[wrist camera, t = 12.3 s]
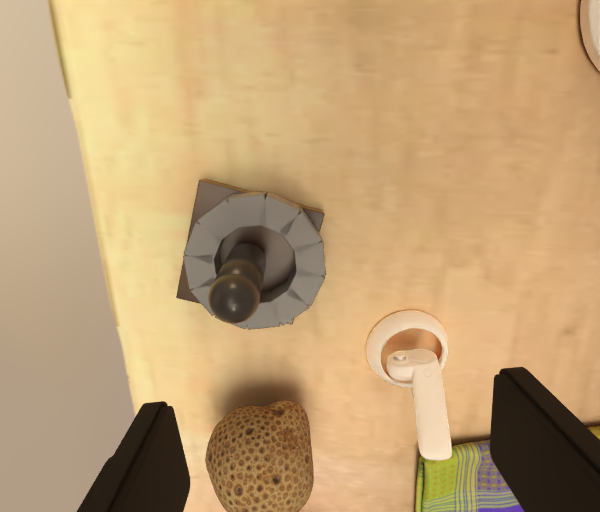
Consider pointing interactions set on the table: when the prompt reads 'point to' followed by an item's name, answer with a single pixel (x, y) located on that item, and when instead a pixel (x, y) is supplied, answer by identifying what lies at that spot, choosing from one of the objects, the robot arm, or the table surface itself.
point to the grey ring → (276, 217)
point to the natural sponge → (262, 459)
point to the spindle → (243, 259)
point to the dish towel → (466, 482)
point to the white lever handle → (416, 377)
